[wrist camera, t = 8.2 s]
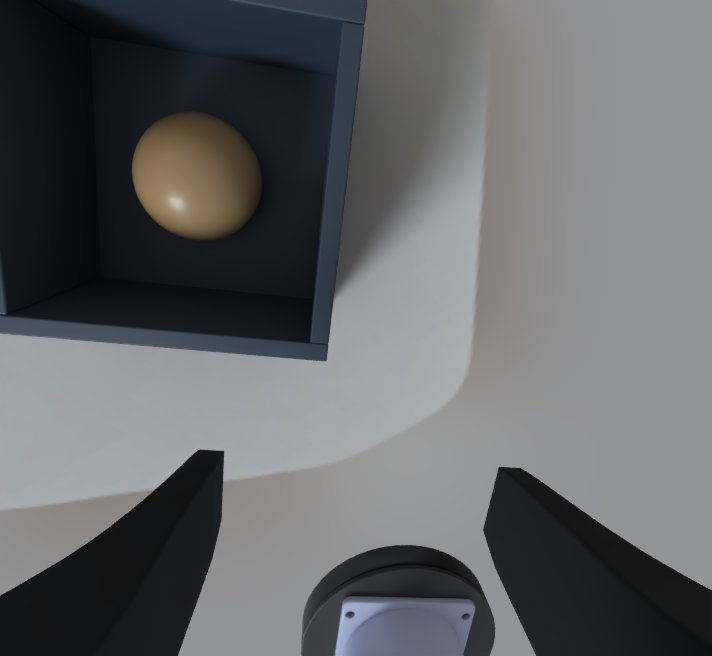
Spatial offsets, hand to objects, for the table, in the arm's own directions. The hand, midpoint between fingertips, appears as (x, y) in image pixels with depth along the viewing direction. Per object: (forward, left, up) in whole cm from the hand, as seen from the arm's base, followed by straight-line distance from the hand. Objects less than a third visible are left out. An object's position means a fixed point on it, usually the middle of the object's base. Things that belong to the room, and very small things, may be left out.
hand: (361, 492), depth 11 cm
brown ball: (+7, +6, -10) cm, 14 cm away
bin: (+7, +6, -10) cm, 14 cm away
